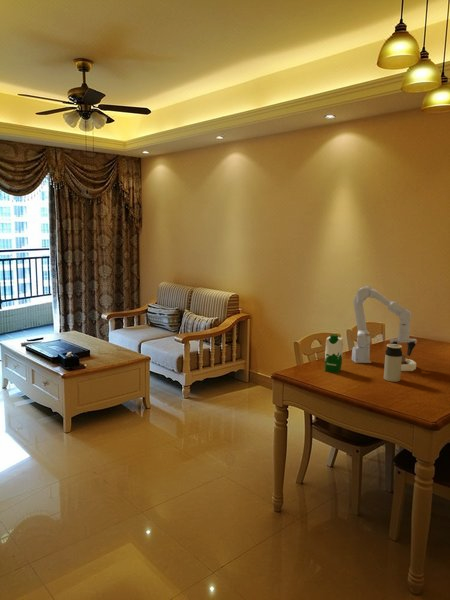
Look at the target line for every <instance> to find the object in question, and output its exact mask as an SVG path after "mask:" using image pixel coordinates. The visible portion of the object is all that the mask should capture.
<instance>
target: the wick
mask: <svg viewBox="0 0 450 600" xmlns="http://www.w3.org/2000/svg"><path fill="white" fill-rule="evenodd" d="M406 356H407V355H406V354H405V353H403V352H402V362H401V364H405V359H407V357H406Z"/></svg>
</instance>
